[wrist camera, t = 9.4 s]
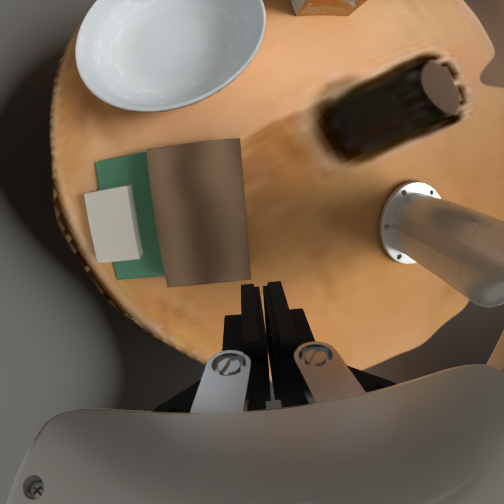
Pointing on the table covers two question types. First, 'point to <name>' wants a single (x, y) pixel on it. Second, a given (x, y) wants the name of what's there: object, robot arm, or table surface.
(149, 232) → the mat
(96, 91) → the serving bowl
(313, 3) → the small box
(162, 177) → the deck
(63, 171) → the table surface
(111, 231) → the light grey flat block
